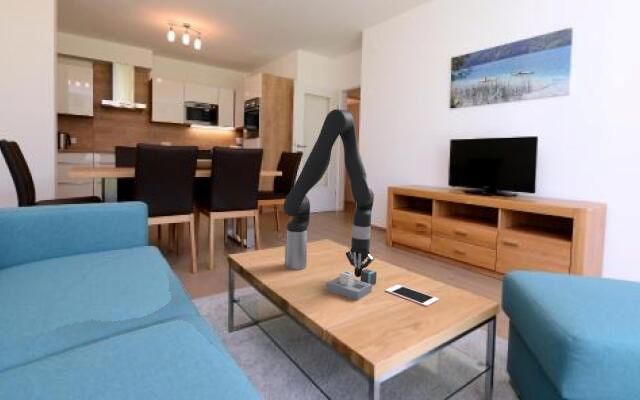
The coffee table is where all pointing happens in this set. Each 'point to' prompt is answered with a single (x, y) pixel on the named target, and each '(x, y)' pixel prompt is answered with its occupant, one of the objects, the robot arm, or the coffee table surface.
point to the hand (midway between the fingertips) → (358, 276)
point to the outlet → (350, 288)
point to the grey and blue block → (368, 276)
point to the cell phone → (412, 295)
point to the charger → (346, 278)
